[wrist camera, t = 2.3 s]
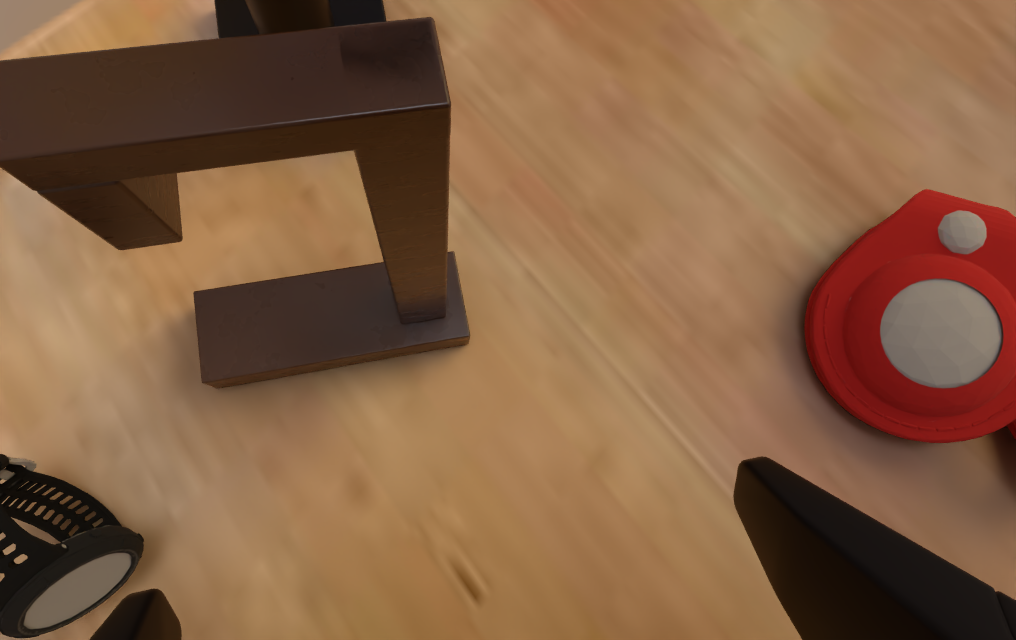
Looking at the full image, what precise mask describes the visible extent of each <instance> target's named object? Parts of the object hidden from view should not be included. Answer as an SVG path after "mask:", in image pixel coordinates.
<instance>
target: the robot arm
mask: <svg viewBox="0 0 1016 640" xmlns="http://www.w3.org/2000/svg"><path fill="white" fill-rule="evenodd" d="M734 504H735V507H736V510H737V512H738V515H739V517H740V519H741V521H742V523H743V525H744V528H745V530H746V532H747V534H748V536H749V538H750V540H751V543H752V545H753V547H754V549H755V551H756V553H757V555H758V558H759V560H760V562H761V564H762V566H763V568H764V571H765V573H766V575H767V577H768V579H769V581H770V583H771V585H772V587H773V589H774V591H775V593H776V595H777V597H778V599H779V601H780V602H781V604H782V606H783V608H784V610H785V611H786V613H787V615H788V616H789V618H790V620H791V621H792V623H793V625H794V626H795V628H796V630H797V631H798V633H799V635H800V636H801V638H802V640H1016V600H1014V599H1012V598H1010V597H1009V596H1007V595H1005V594H1003V593H1002V592H999V591H997V592H995V590H994V589H993V587H991V586H989V585H988V584H986V583H984V582H982V581H981V580H979V579H977V578H975V577H974V576H972V575H970V574H968V573H967V572H965V571H963V570H962V569H960V568H958V567H956V566H955V565H953V564H951V563H949V562H948V561H946V560H944V559H943V558H941V557H939V556H937V555H936V554H934V553H932V552H930V551H929V550H927V549H925V548H923V547H922V546H920V545H918V544H917V543H915V542H913V541H911V540H910V539H908V538H906V537H904V536H903V535H901V534H899V533H898V532H896V531H894V530H892V529H891V528H889V527H887V526H885V525H884V524H882V523H880V522H878V521H877V520H875V519H873V518H872V517H870V516H868V515H866V514H865V513H863V512H861V511H859V510H858V509H856V508H854V507H853V506H851V505H849V504H847V503H846V502H844V501H842V500H840V499H839V498H837V497H835V496H834V495H832V494H830V493H828V492H827V491H825V490H823V489H821V488H820V487H818V486H816V485H814V484H813V483H811V482H809V481H808V480H806V479H804V478H802V477H801V476H799V475H797V474H795V473H794V472H792V471H790V470H789V469H787V468H785V467H783V466H782V465H780V464H778V463H776V462H775V461H773V460H771V459H769V458H767V457H756V458H752V459H747V460H743V461H741V463H740V464H739V466H738V471H737V477H736V483H735V489H734ZM181 636H182V635H181V626H180V622H179V620H178V618H177V616H176V614H175V613H174V611H173V609H172V607H171V606H170V604H169V602H168V601H167V599H166V597H165V595H164V594H163V592H162V591H161V590H159V589H150V590H145V591H140V592H136V593H132V594H129V595H128V596H126V597H125V598H124V599H123V600H122V601H121V602H120V603H119V605H118V606H117V607H116V608H115V609H114V611H113V612H112V613H111V614H110V615H109V617H108V618H107V619H106V620H105V621H104V623H103V624H102V625H101V626H100V627H99V629H98V630H97V631H96V632H95V634H94V635H93V636H92V637H91V638H90V640H181Z"/></svg>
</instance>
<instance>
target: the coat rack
mask: <svg viewBox="0 0 1016 640" xmlns="http://www.w3.org/2000/svg"><path fill="white" fill-rule="evenodd" d="M215 9H216V18H217V26H218V35H219V38H229V37H239V36H249V35H258V34H268V33H278V32H288V31H298V30H308V29H318V28H328V27H337V26H347V25H357V24H367V23H377V22H386V16H385V11H384V5H383V0H215Z"/></svg>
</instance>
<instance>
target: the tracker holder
mask: <svg viewBox="0 0 1016 640" xmlns="http://www.w3.org/2000/svg"><path fill="white" fill-rule="evenodd" d="M804 329H805V341H806V346H807V352H808V355H809V358H810V361H811V364H812V367H813V369H814V371H815V373H816V374H817V376H818V378H819V380H820V381H821V383H822V384H823V386H824V387H825V389H826V390H827V391H828V393H829V394H830V395H831V396H832V397H833V398H834V399H835V400H836V401H837V402H838V403H839V404H840V405H841V406H842V407H843V408H844V409H846V410H847V411H848V412H849V413H851V414H852V415H853V416H855V417H856V418H858V419H860V420H861V421H863V422H865V423H866V424H868V425H870V426H872V427H874V428H877V429H879V430H881V431H884V432H886V433H888V434H891V435H894V436H897V437H901V438H904V439H909V440H914V441H921V442H929V443H950V442H958V441H966V440H970V439H974V438H978V437H982V436H984V435H987V434H990V433H992V432H994V431H996V430H998V429H1000V428H1003V427H1005V426H1006V425H1007V427H1008V429H1009V430H1010V432H1011V433H1012V435H1013V437H1014V438H1015V440H1016V217H1015V216H1013V215H1012V214H1011V213H1010V212H1008V211H1007V210H1004V209H1001V208H998V207H993V206H988V205H984V204H980V203H977V202H973V201H969V200H966V199H962V198H958V197H955V196H951V195H947V194H944V193H940V192H937V191H933V190H928V189H925V190H922V191H921V192H919V193H918V194H916V195H914V196H913V197H912V198H911V199H910V200H909V201H908V202H907V203H905V204H904V205H903V206H902V207H901V208H900V209H899V210H897V211H896V212H895V213H894V214H893V215H891V216H890V217H888V218H887V219H886V220H884V221H883V222H881V223H880V224H878V225H877V226H875V227H873V228H872V229H870V230H868V231H867V232H866V233H865V234H864V235H862V236H861V237H860V238H859V239H857V240H856V241H855V242H854V243H853V244H852V245H851V246H850V247H849V248H848V249H847V250H846V251H845V252H844V253H843V254H842V255H841V256H840V257H839V258H838V259H837V260H836V261H835V262H834V263H833V264H832V265H831V266H830V268H829V269H828V270H827V271H826V272H825V273H824V275H823V276H822V277H821V279H820V280H819V282H818V283H817V285H816V286H815V288H814V289H813V291H812V293H811V296H810V298H809V300H808V305H807V310H806V315H805V326H804Z"/></svg>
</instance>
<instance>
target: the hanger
mask: <svg viewBox="0 0 1016 640" xmlns="http://www.w3.org/2000/svg"><path fill="white" fill-rule="evenodd" d="M450 130H451V101H450V96H449V91H448V86H447V81H446V76H445V71H444V66H443V61H442V56H441V51H440V46H439V41H438V36H437V31H436V26H435V21H434V20H433V18H431V17H426V18H417V19H407V20H397V21H387V22H377V23H367V24H357V25H347V26H337V27H328V28H318V29H308V30H298V31H288V32H278V33H268V34H258V35H249V36H239V37H229V38H219V39H209V40H199V41H189V42H179V43H169V44H160V45H150V46H140V47H130V48H120V49H110V50H100V51H90V52H81V53H71V54H61V55H51V56H41V57H31V58H21V59H11V60H1V61H0V167H1V168H2V169H3V170H5V171H6V172H8V173H9V174H11V175H12V176H13V177H15V178H16V179H18V180H19V181H21V182H22V183H23V184H25V185H26V186H28V187H29V188H30V189H32V190H35V191H37V192H38V193H39V194H40V195H41V196H42V197H44V198H45V199H47V200H48V201H50V202H51V203H52V204H54V205H55V206H57V207H58V208H59V209H61V210H62V211H64V212H65V213H67V214H68V215H69V216H71V217H72V218H74V219H75V220H77V221H78V222H79V223H81V224H82V225H84V226H85V227H86V228H88V229H89V230H91V231H92V232H94V233H95V234H96V235H98V236H99V237H101V238H102V239H104V240H105V241H106V242H108V243H109V244H111V245H112V246H113V247H115V248H116V249H118V250H127V249H134V248H141V247H148V246H155V245H162V244H169V243H176V242H181V241H182V238H183V237H182V226H181V215H180V204H179V194H178V183H177V173H181V172H189V171H197V170H204V169H212V168H220V167H228V166H235V165H243V164H251V163H259V162H266V161H274V160H282V159H289V158H297V157H305V156H313V155H320V154H328V153H336V152H344V151H351V150H354V152H355V156H356V160H357V164H358V167H359V171H360V175H361V178H362V182H363V186H364V189H365V193H366V197H367V200H368V204H369V208H370V212H371V215H372V219H373V223H374V226H375V230H376V234H377V237H378V241H379V245H380V249H381V252H382V256H383V260H384V262H381V263H375V264H368V265H362V266H355V267H349V268H343V269H336V270H330V271H323V272H317V273H310V274H304V275H297V276H291V277H285V278H278V279H272V280H265V281H259V282H252V283H246V284H240V285H233V286H227V287H220V288H214V289H207V290H201V291H195V292H194V304H195V314H196V325H197V336H198V346H199V357H200V368H201V378H202V383H204V384H207V385H209V386H212V387H214V388H223V387H228V386H234V385H239V384H245V383H251V382H256V381H262V380H268V379H273V378H279V377H285V376H290V375H296V374H302V373H307V372H313V371H319V370H324V369H330V368H336V367H341V366H347V365H353V364H358V363H364V362H369V361H375V360H381V359H386V358H392V357H398V356H403V355H409V354H415V353H420V352H426V351H432V350H437V349H443V348H449V347H454V346H460V345H466V344H468V343H469V338H470V332H469V327H468V321H467V316H466V311H465V306H464V300H463V295H462V290H461V285H460V280H459V274H458V269H457V264H456V259H455V254H454V252H453V251H452V252H447V251H448V205H449V158H450Z"/></svg>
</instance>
